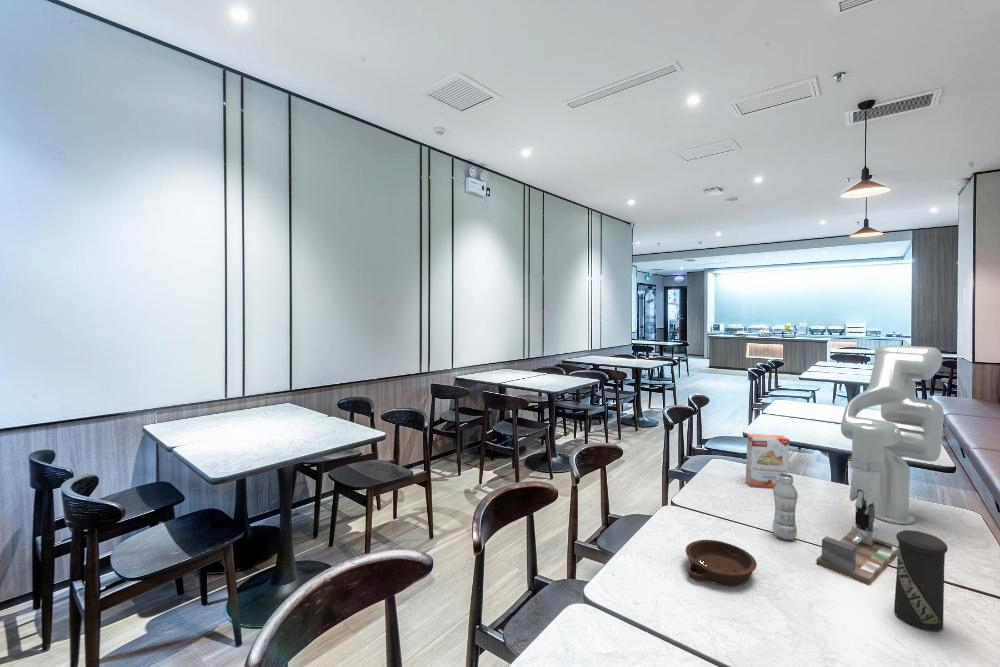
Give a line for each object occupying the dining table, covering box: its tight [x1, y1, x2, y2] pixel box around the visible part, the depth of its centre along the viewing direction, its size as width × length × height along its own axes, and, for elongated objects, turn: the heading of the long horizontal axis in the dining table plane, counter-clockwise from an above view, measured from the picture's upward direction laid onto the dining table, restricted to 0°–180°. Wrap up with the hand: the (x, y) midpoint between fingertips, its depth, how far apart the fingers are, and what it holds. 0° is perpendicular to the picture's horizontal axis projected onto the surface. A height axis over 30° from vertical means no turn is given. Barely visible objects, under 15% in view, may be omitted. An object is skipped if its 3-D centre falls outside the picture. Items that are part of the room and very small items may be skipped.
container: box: [893, 529, 949, 632], centre depth 104 cm, size 9×9×20 cm
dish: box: [685, 539, 757, 587], centre depth 124 cm, size 18×22×5 cm
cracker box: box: [745, 433, 790, 489], centre depth 184 cm, size 14×6×21 cm, turn 81°
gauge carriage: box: [850, 502, 892, 549], centre depth 133 cm, size 11×9×11 cm
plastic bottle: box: [771, 474, 799, 541], centre depth 142 cm, size 6×7×20 cm
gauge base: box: [815, 531, 898, 586], centre depth 130 cm, size 28×12×8 cm, turn 125°
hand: (864, 522), depth 137 cm, fingers closed on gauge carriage, 4 cm apart
